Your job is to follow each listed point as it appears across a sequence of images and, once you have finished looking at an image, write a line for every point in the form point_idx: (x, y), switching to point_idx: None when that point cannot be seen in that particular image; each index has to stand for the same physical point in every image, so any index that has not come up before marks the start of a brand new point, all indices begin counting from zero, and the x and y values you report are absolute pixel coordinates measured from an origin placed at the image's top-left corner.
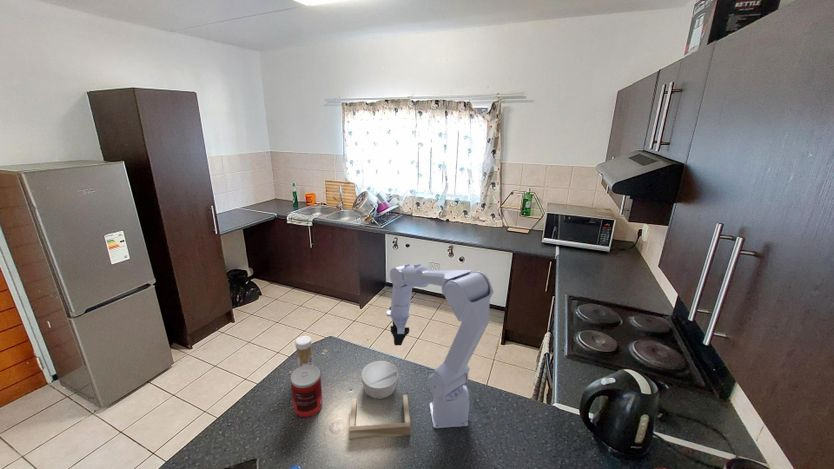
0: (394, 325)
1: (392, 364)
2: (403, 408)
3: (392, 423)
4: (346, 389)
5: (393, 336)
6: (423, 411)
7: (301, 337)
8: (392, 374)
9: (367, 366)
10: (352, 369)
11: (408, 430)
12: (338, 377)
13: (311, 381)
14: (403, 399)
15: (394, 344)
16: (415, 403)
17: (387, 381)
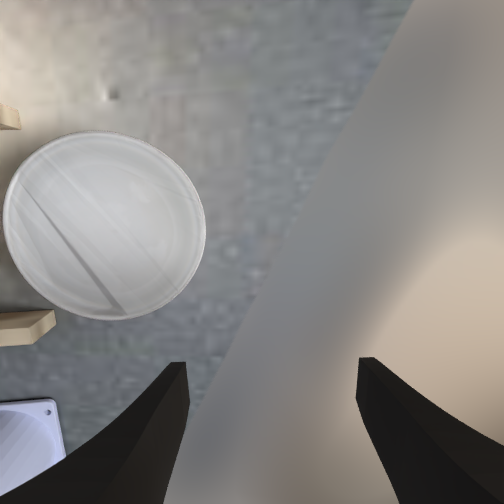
0: (369, 381)
1: (175, 292)
2: (13, 315)
3: None
4: (113, 72)
5: (79, 447)
6: (22, 377)
7: None
8: (108, 292)
9: (157, 162)
10: (237, 92)
11: None
12: (187, 24)
13: None
14: (4, 329)
15: (169, 364)
16: (56, 352)
17: (65, 268)
